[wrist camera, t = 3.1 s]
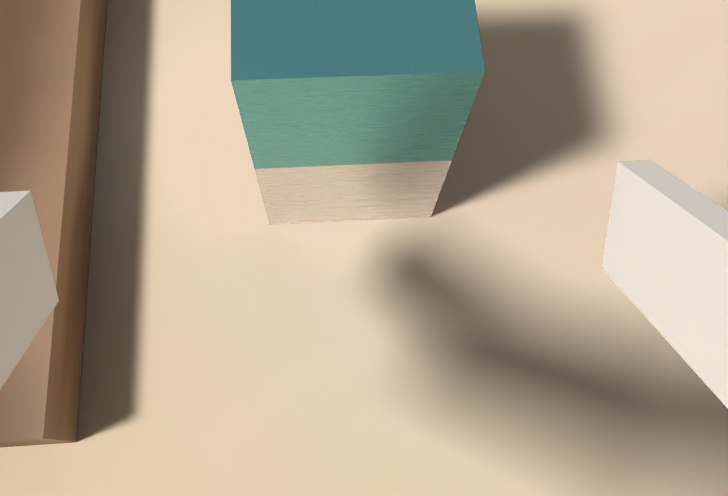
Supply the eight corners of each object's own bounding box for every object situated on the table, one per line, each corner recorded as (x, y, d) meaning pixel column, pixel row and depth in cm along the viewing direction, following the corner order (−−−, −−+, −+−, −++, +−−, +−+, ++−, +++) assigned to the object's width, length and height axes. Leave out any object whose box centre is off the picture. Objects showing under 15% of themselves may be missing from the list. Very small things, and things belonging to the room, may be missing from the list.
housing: (416, 79, 31) (456, -121, 20) (430, 217, 29) (485, 71, 18) (266, 84, 30) (230, -118, 20) (269, 224, 28) (231, 80, 18)
